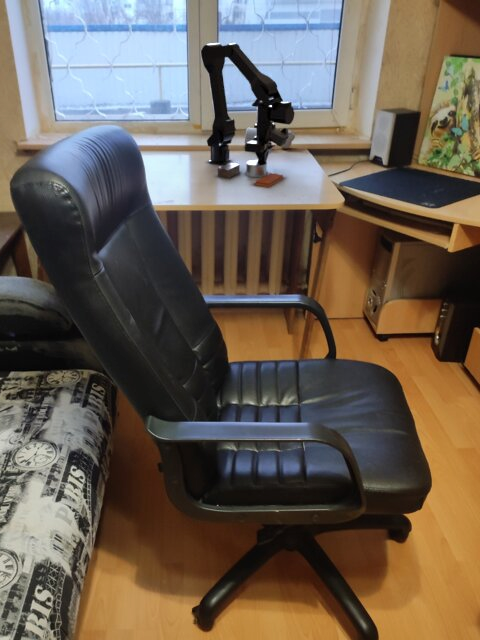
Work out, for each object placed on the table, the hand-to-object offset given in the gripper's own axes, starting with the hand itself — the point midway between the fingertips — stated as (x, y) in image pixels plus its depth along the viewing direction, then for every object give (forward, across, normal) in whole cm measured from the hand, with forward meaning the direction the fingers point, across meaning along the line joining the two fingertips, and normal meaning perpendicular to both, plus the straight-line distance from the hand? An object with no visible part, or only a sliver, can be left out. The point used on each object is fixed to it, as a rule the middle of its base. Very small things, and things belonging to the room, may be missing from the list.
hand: (263, 166), depth 202 cm
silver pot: (+1, -5, 0) cm, 5 cm away
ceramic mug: (+2, +28, +18) cm, 34 cm away
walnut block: (+1, -11, +8) cm, 14 cm away
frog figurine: (+2, +32, +6) cm, 33 cm away
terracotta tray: (+1, -11, -8) cm, 13 cm away
